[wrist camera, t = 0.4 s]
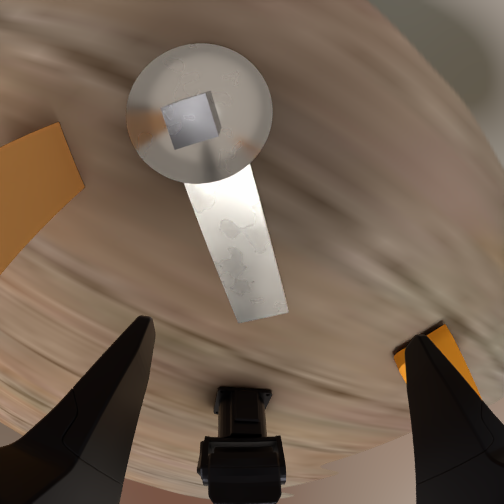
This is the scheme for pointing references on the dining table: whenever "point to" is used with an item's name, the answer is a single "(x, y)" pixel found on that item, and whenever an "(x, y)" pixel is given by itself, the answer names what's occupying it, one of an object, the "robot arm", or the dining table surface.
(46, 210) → the orange rectangular block
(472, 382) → the bracket
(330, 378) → the dining table surface
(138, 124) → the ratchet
